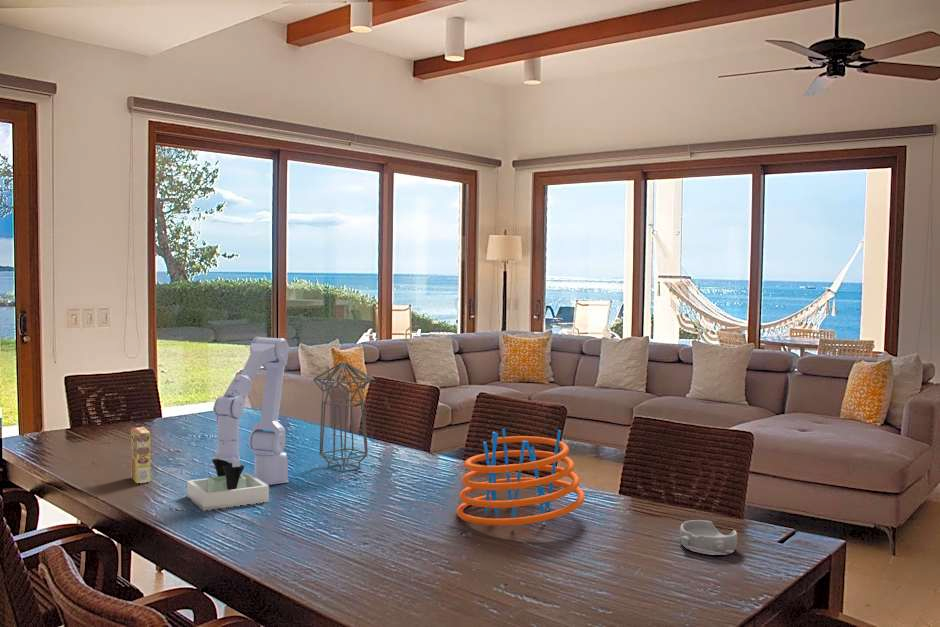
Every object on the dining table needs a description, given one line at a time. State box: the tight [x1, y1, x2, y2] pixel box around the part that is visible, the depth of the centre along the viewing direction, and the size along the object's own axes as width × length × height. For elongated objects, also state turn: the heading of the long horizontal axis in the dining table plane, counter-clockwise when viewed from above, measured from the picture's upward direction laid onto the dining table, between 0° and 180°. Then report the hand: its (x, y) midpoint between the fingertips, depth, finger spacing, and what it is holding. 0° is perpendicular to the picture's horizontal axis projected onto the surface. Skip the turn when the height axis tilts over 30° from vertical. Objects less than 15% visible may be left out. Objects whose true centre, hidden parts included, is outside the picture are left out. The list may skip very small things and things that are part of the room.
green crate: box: [207, 475, 246, 493], centre depth 229 cm, size 9×6×5 cm, turn 125°
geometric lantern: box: [312, 361, 375, 472], centre depth 268 cm, size 16×16×35 cm
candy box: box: [130, 426, 151, 485], centre depth 245 cm, size 9×4×15 cm, turn 33°
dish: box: [679, 519, 738, 551], centre depth 200 cm, size 14×14×5 cm
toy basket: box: [456, 427, 586, 526], centre depth 220 cm, size 34×35×24 cm
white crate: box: [186, 472, 270, 512], centre depth 229 cm, size 18×16×4 cm
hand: (227, 487), depth 229 cm, fingers open, 7 cm apart
